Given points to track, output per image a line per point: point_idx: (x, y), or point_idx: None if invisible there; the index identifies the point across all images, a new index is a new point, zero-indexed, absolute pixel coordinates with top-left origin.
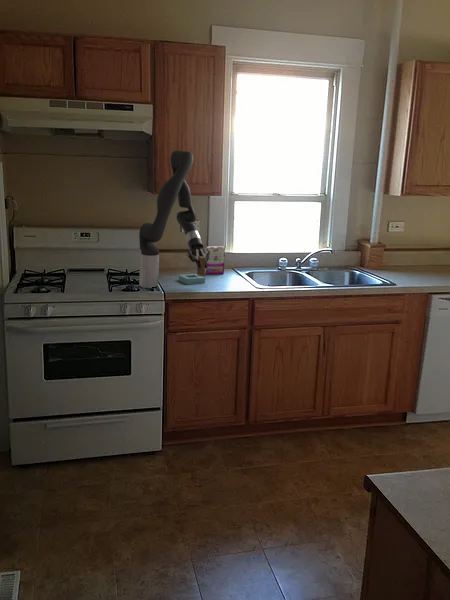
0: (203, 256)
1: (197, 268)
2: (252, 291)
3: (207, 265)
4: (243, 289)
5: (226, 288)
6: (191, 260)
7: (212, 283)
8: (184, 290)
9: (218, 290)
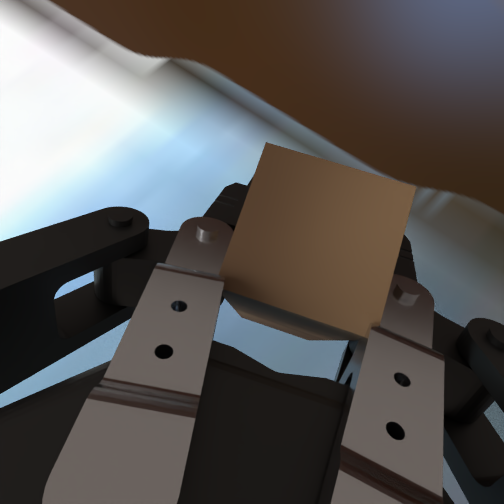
0: (223, 273)
1: (320, 339)
2: (23, 3)
3: (236, 187)
4: (20, 76)
5: (100, 171)
6: (483, 432)
7: (40, 379)
8: (452, 320)
9: (208, 160)
